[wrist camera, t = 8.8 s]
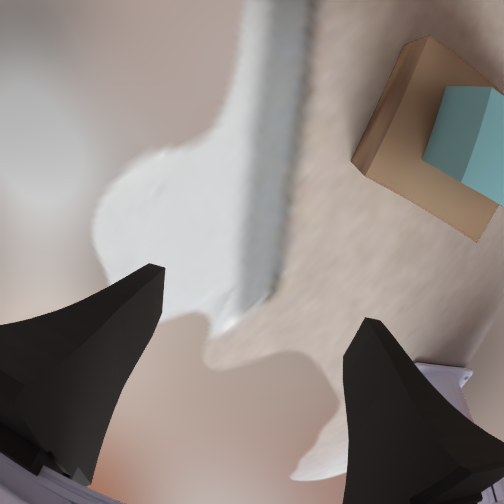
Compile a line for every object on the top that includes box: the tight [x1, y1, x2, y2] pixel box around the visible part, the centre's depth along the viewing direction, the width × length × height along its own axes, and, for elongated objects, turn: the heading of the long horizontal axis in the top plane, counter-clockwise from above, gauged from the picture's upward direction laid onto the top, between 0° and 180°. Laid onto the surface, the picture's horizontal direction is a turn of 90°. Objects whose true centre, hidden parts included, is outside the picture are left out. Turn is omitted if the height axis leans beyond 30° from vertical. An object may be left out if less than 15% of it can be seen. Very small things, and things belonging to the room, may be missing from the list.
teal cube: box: [422, 86, 504, 207], centre depth 10 cm, size 4×4×4 cm
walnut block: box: [351, 36, 504, 243], centre depth 14 cm, size 8×8×4 cm
